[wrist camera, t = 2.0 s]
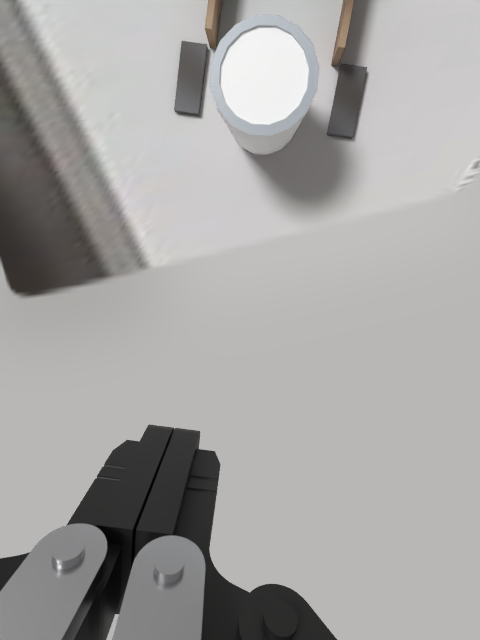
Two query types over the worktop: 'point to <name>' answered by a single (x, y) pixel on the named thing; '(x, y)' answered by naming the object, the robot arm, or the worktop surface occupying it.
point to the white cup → (264, 81)
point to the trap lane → (348, 75)
